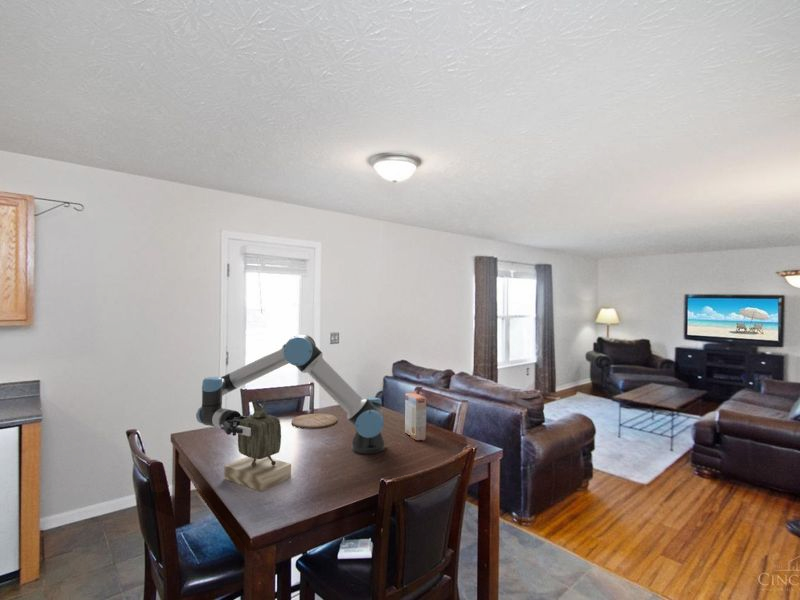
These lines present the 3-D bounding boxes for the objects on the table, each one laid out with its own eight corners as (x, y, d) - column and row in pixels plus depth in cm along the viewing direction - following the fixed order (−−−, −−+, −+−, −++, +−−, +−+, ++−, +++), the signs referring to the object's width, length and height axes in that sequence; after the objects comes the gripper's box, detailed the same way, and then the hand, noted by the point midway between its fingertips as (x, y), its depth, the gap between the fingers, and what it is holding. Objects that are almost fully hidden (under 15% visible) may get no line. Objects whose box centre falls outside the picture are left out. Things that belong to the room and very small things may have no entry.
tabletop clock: (280, 465, 150) (281, 398, 151) (260, 473, 143) (261, 403, 143) (255, 457, 158) (256, 393, 159) (235, 464, 150) (236, 398, 151)
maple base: (290, 477, 151) (291, 463, 151) (261, 491, 139) (262, 477, 139) (254, 466, 161) (254, 454, 161) (224, 479, 149) (224, 465, 149)
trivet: (283, 422, 225) (283, 419, 225) (321, 414, 243) (321, 411, 243) (306, 432, 207) (306, 428, 207) (345, 423, 225) (345, 419, 225)
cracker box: (426, 440, 195) (427, 397, 196) (415, 441, 193) (415, 398, 193) (415, 432, 208) (415, 392, 209) (404, 433, 206) (404, 392, 206)
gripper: (252, 421, 170) (289, 428, 160) (198, 437, 148) (236, 447, 138) (252, 403, 170) (289, 410, 160) (198, 417, 149) (236, 425, 138)
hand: (264, 427), depth 149 cm, fingers open, 13 cm apart
